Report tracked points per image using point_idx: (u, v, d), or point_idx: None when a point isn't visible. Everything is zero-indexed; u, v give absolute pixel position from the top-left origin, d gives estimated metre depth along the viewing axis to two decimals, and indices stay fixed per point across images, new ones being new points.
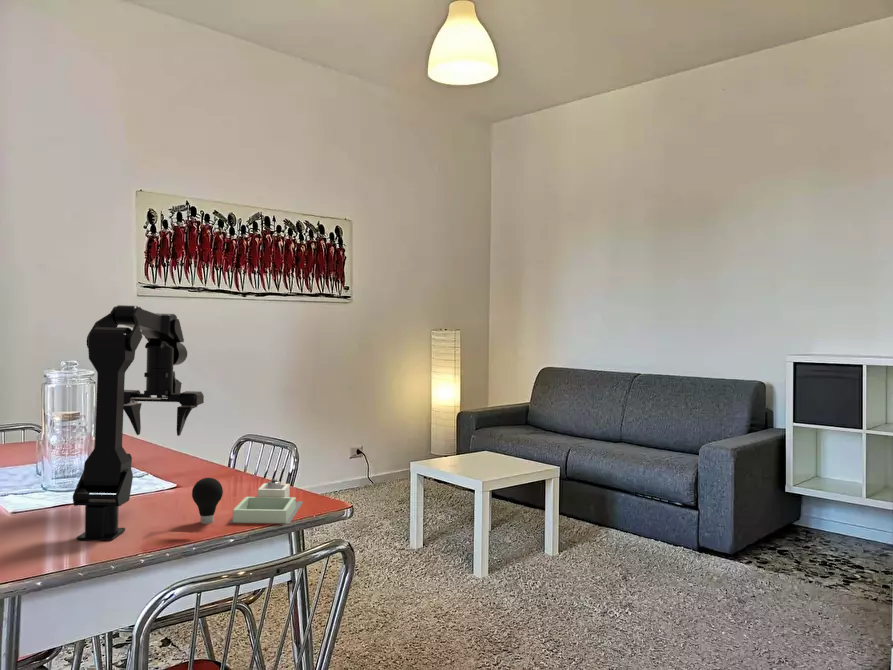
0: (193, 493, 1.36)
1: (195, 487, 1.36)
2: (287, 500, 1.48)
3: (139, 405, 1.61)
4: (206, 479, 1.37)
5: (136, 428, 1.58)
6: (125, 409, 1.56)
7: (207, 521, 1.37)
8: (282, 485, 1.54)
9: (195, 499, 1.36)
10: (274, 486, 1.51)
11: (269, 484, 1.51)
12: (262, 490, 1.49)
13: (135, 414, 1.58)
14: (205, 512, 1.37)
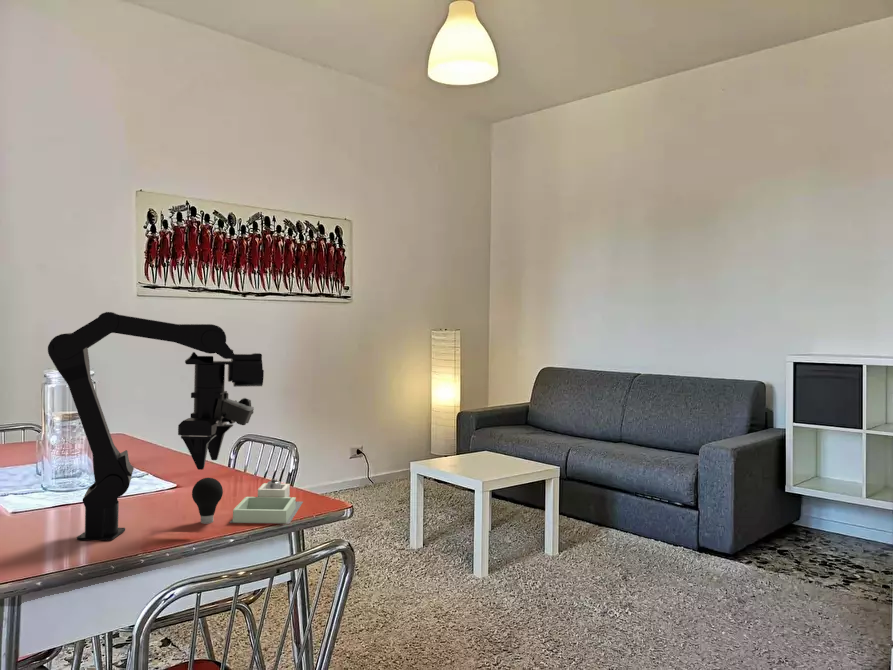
0: (193, 493, 1.36)
1: (195, 487, 1.36)
2: (287, 500, 1.48)
3: (223, 428, 1.43)
4: (206, 479, 1.37)
5: (209, 452, 1.43)
6: None
7: (207, 521, 1.37)
8: (282, 485, 1.54)
9: (195, 499, 1.36)
10: (274, 486, 1.51)
11: (269, 484, 1.51)
12: (262, 490, 1.49)
13: None
14: (205, 512, 1.37)
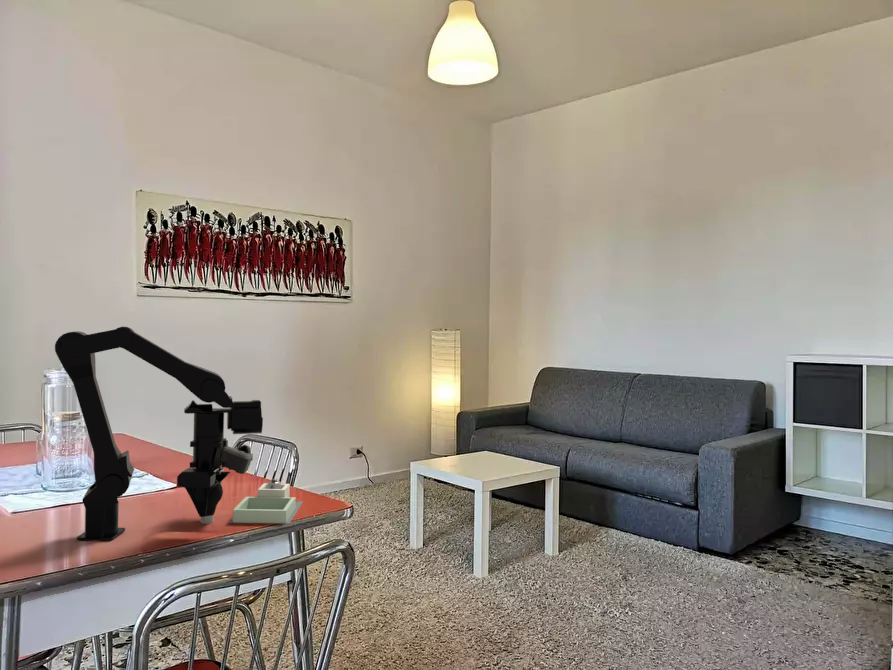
0: None
1: None
2: (287, 500, 1.48)
3: (220, 476, 1.41)
4: None
5: None
6: None
7: (207, 521, 1.37)
8: (282, 485, 1.54)
9: None
10: (274, 486, 1.51)
11: (269, 484, 1.51)
12: (262, 490, 1.49)
13: None
14: None
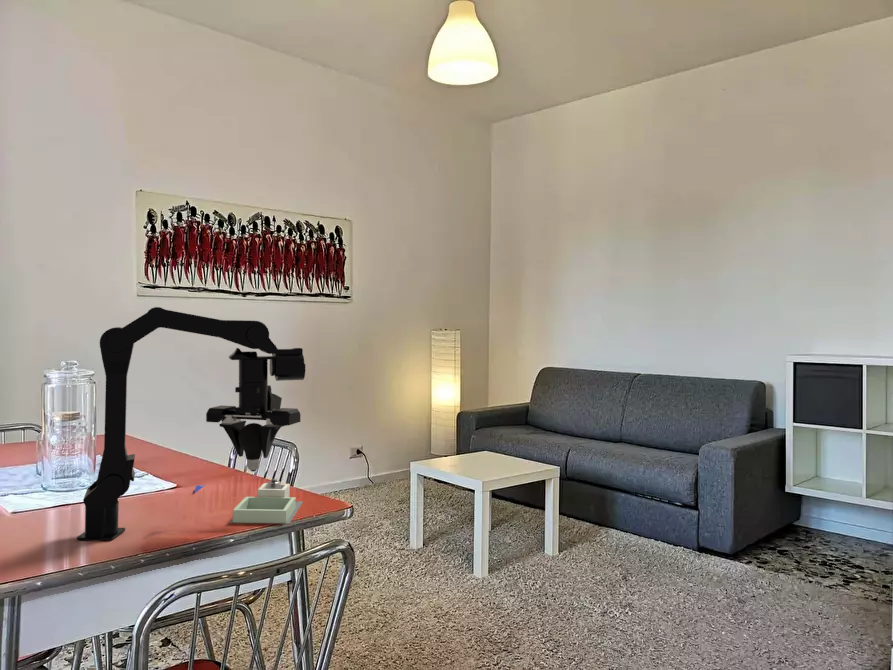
0: (256, 438, 1.40)
1: (256, 432, 1.40)
2: (287, 500, 1.48)
3: (242, 423, 1.44)
4: (256, 424, 1.42)
5: (238, 449, 1.42)
6: (225, 428, 1.40)
7: None
8: (282, 485, 1.54)
9: (258, 443, 1.40)
10: (274, 486, 1.51)
11: (269, 484, 1.51)
12: (262, 490, 1.49)
13: (236, 433, 1.42)
14: (260, 454, 1.42)
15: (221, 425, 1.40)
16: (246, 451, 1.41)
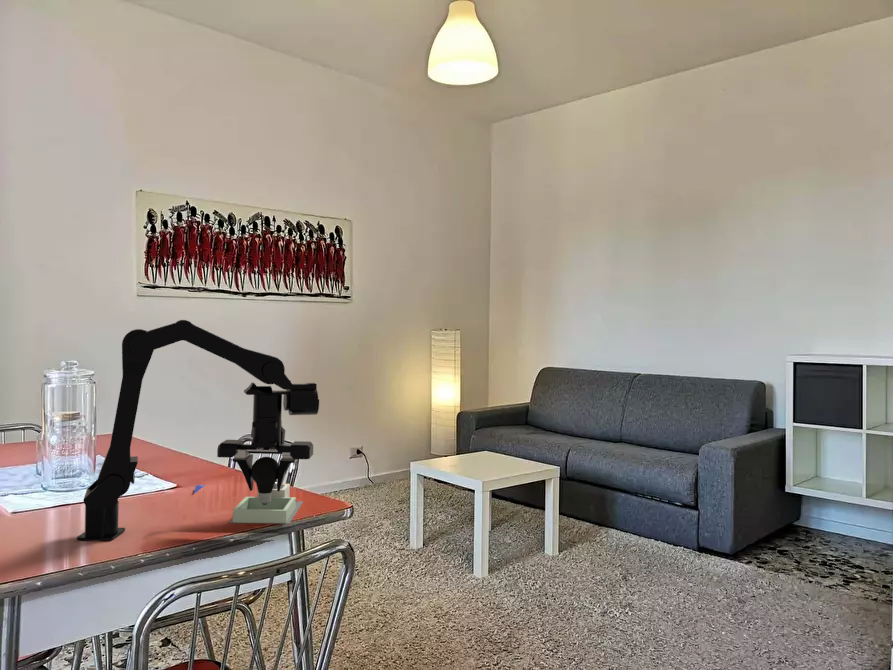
0: (272, 472, 1.41)
1: (272, 466, 1.42)
2: (287, 500, 1.48)
3: (251, 457, 1.45)
4: (269, 457, 1.43)
5: (250, 483, 1.42)
6: (239, 463, 1.41)
7: None
8: (282, 485, 1.54)
9: (274, 477, 1.42)
10: (274, 486, 1.51)
11: None
12: None
13: (249, 468, 1.42)
14: (272, 488, 1.44)
15: (235, 460, 1.40)
16: (260, 485, 1.42)
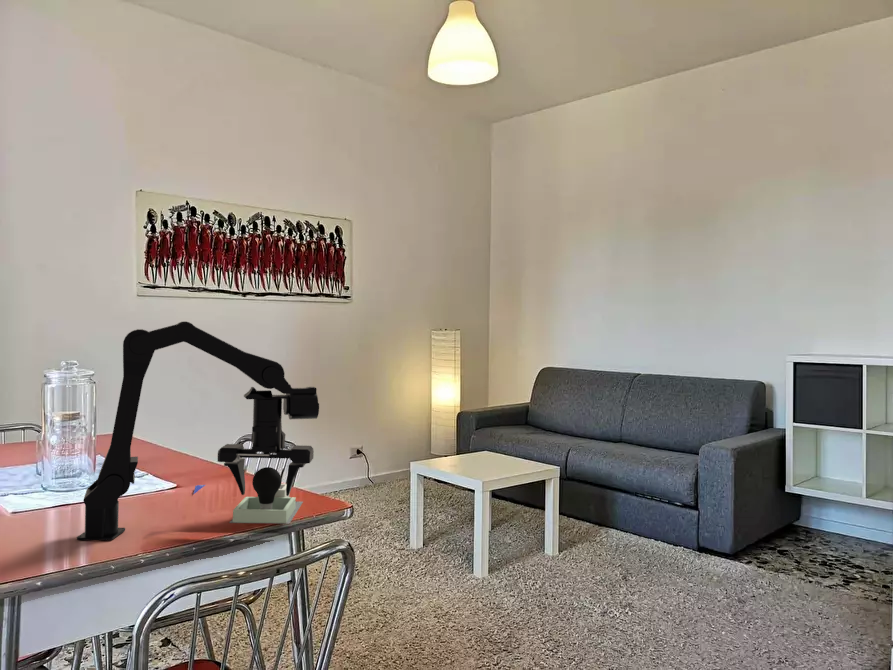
0: (274, 482, 1.42)
1: (273, 477, 1.42)
2: (287, 500, 1.48)
3: (243, 461, 1.45)
4: (271, 468, 1.44)
5: (241, 488, 1.42)
6: (231, 467, 1.40)
7: None
8: (282, 485, 1.54)
9: (276, 487, 1.42)
10: None
11: None
12: None
13: (240, 472, 1.42)
14: None
15: (226, 464, 1.40)
16: (262, 496, 1.42)
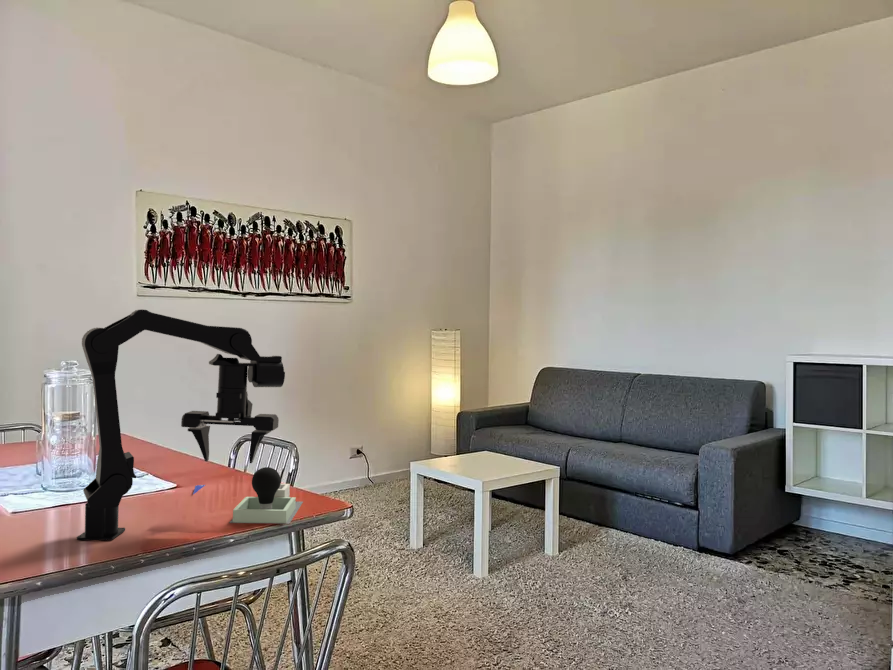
0: (273, 482, 1.42)
1: (273, 476, 1.42)
2: (287, 500, 1.48)
3: (208, 428, 1.45)
4: (270, 468, 1.44)
5: (205, 454, 1.43)
6: (194, 433, 1.41)
7: None
8: (282, 485, 1.54)
9: (275, 487, 1.42)
10: None
11: None
12: None
13: (204, 438, 1.42)
14: (273, 498, 1.44)
15: (190, 430, 1.41)
16: (261, 496, 1.42)
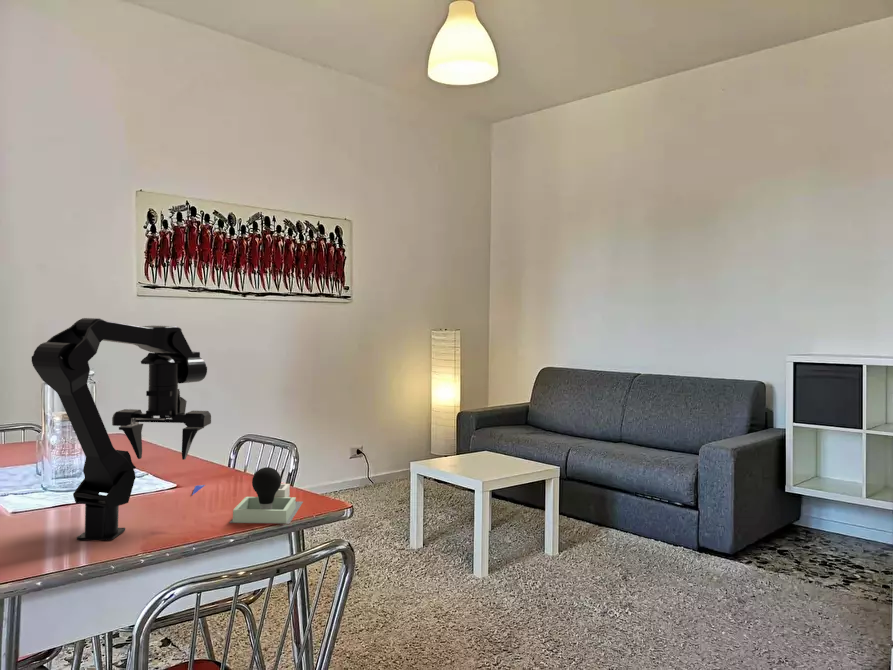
0: (273, 482, 1.42)
1: (273, 476, 1.42)
2: (287, 500, 1.48)
3: (140, 426, 1.47)
4: (270, 468, 1.44)
5: (137, 452, 1.44)
6: (125, 431, 1.42)
7: None
8: (282, 485, 1.54)
9: (275, 487, 1.42)
10: None
11: None
12: None
13: (136, 436, 1.44)
14: None
15: (121, 428, 1.42)
16: (261, 496, 1.42)
